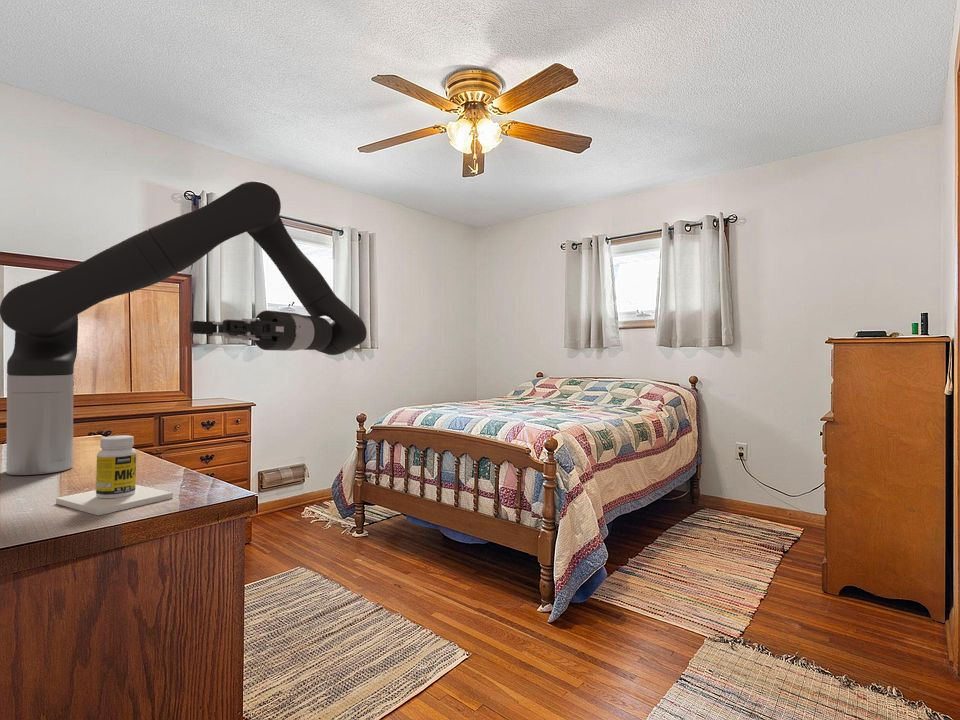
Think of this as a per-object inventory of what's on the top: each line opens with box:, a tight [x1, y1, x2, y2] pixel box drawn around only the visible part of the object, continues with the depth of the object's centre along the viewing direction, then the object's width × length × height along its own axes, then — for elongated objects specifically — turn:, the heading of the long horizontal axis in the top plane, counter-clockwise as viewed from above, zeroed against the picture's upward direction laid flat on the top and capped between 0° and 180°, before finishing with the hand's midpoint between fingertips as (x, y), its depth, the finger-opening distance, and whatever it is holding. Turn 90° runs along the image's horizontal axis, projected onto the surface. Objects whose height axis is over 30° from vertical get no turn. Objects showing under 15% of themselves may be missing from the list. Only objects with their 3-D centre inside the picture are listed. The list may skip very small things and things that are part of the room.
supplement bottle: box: [95, 434, 137, 498], centre depth 77 cm, size 5×5×8 cm
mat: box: [55, 484, 174, 516], centre depth 77 cm, size 11×10×1 cm
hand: (207, 326), depth 89 cm, fingers open, 8 cm apart
